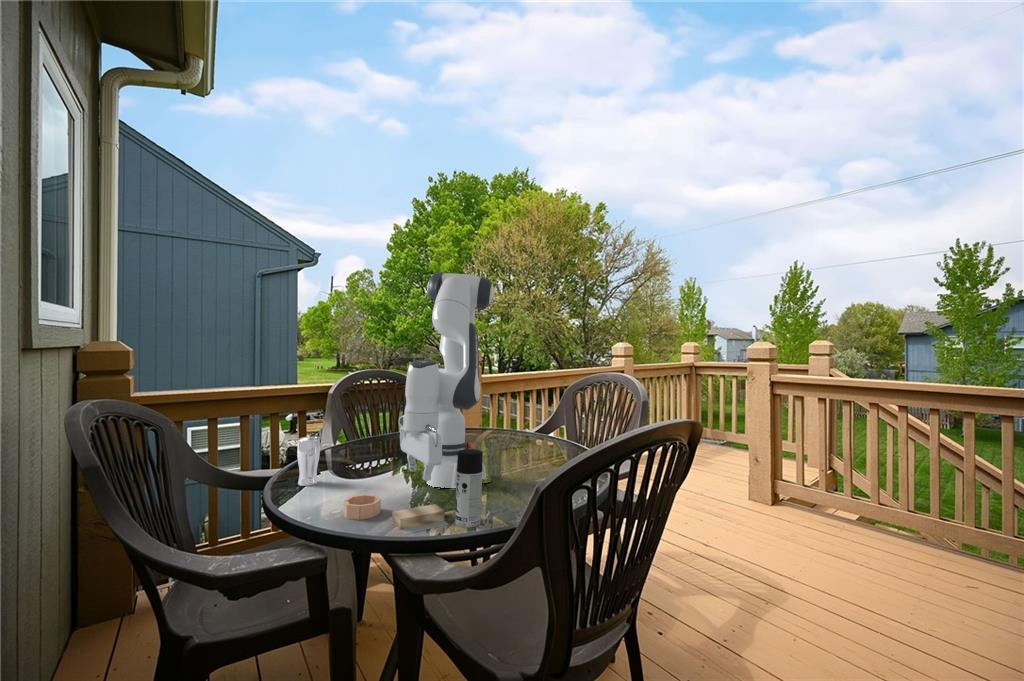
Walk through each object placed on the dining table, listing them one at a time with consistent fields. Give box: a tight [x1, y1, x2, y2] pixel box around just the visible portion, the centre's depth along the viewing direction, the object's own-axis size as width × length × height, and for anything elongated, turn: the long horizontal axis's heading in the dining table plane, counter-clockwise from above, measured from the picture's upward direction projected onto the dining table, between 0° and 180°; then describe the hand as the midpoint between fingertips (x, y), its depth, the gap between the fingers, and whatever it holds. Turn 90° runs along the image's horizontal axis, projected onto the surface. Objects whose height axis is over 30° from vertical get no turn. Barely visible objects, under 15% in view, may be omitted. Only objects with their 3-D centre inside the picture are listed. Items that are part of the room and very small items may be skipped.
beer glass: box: [296, 436, 321, 487], centre depth 158 cm, size 7×7×15 cm
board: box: [391, 503, 445, 531], centre depth 123 cm, size 12×6×3 cm, turn 123°
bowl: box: [342, 493, 382, 521], centre depth 128 cm, size 9×9×5 cm
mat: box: [388, 516, 450, 535], centre depth 123 cm, size 12×12×2 cm
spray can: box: [454, 448, 484, 528], centre depth 123 cm, size 7×7×20 cm
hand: (419, 475), depth 123 cm, fingers open, 8 cm apart
